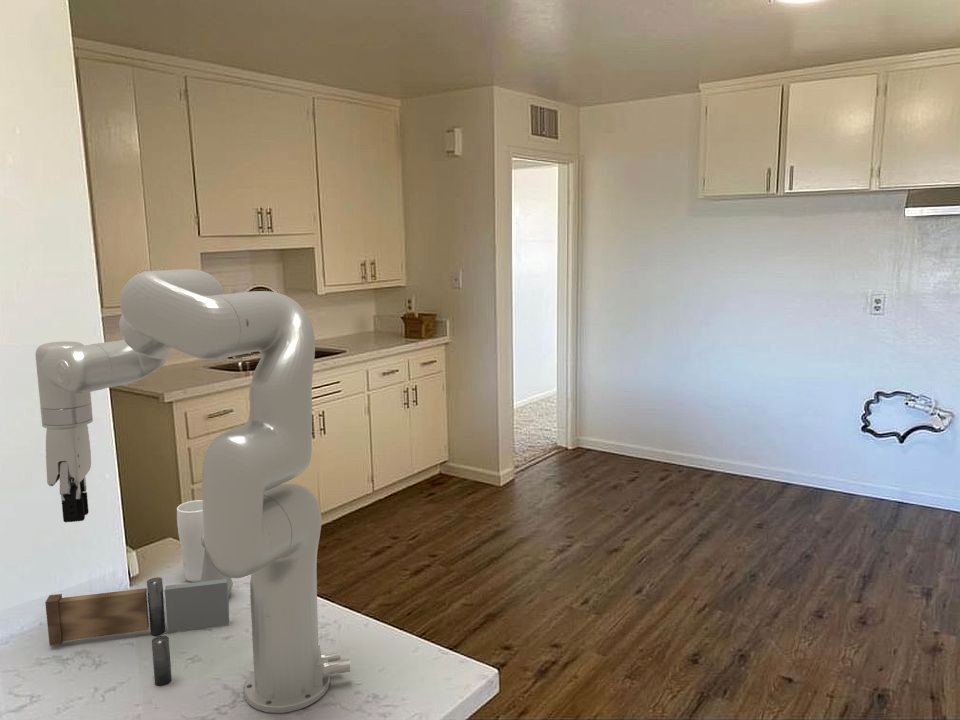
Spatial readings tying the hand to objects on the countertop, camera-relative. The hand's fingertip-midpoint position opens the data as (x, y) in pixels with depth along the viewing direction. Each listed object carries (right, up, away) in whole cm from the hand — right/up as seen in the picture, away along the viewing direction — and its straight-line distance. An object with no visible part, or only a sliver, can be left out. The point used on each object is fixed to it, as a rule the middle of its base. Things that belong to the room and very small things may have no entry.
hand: (76, 517), depth 126 cm
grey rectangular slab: (+21, -19, +1) cm, 29 cm away
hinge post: (+15, -20, -1) cm, 24 cm away
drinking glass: (+14, -16, +20) cm, 29 cm away
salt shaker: (+20, -18, +11) cm, 29 cm away
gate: (+6, -19, -3) cm, 20 cm away
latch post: (+21, -22, -15) cm, 34 cm away
